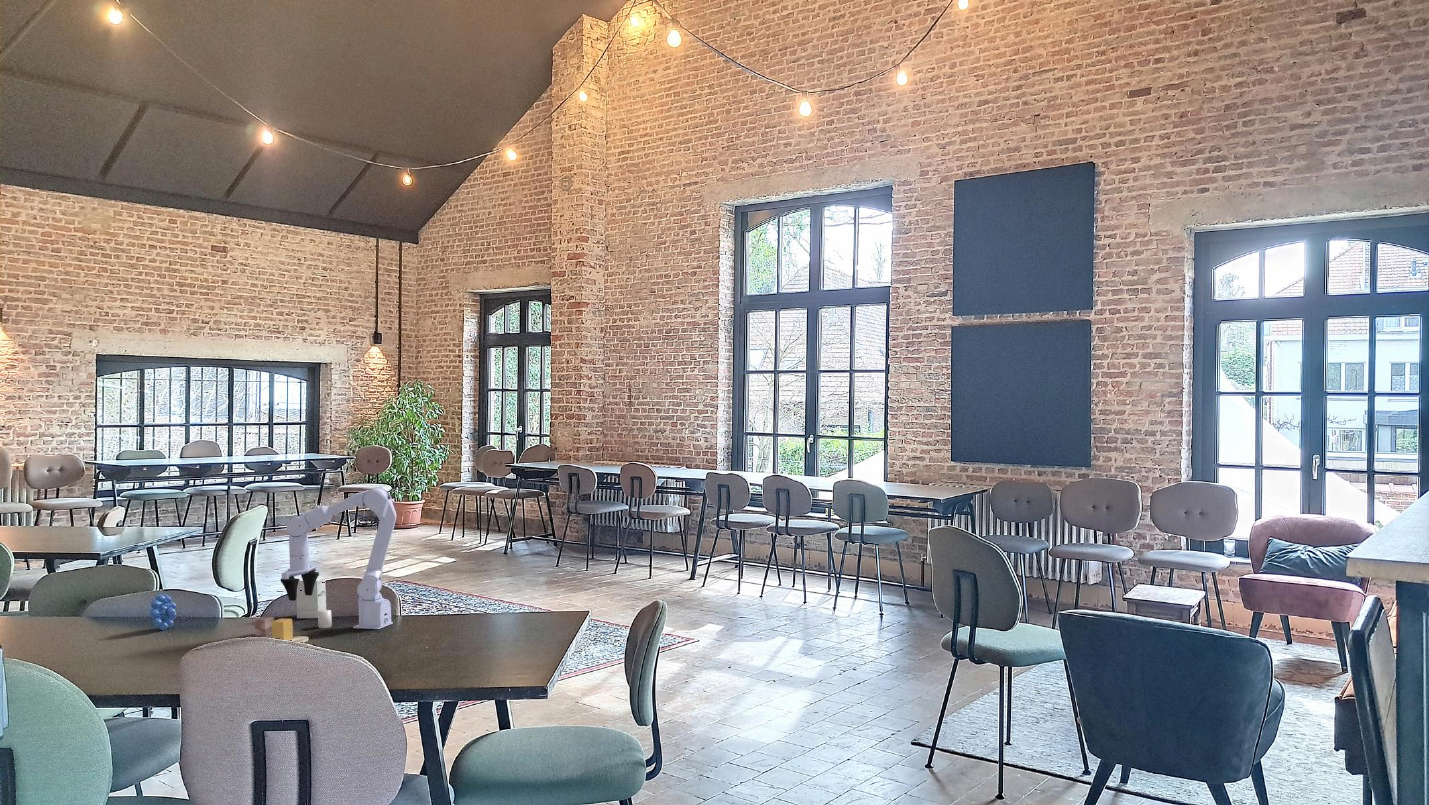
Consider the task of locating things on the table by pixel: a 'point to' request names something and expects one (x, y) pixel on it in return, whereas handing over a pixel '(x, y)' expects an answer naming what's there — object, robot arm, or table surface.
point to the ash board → (300, 639)
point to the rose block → (263, 626)
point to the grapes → (163, 611)
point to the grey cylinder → (324, 619)
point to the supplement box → (311, 599)
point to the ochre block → (282, 629)
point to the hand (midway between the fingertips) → (300, 597)
